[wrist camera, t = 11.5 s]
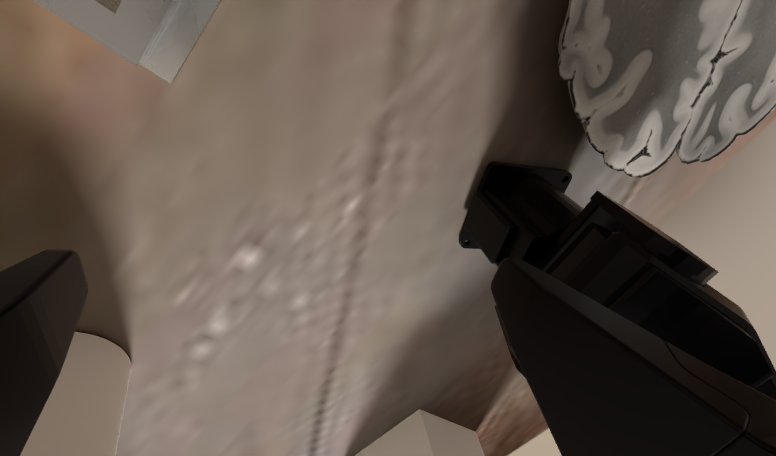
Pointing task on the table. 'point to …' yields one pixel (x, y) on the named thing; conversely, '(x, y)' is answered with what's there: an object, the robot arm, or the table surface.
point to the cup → (84, 402)
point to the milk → (425, 439)
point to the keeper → (140, 28)
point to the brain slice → (668, 76)
